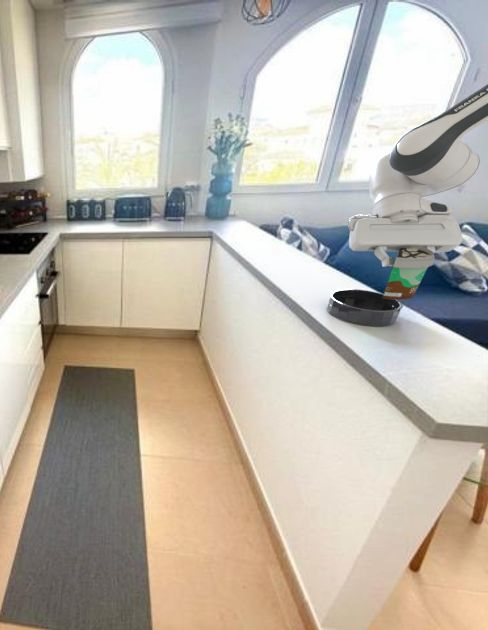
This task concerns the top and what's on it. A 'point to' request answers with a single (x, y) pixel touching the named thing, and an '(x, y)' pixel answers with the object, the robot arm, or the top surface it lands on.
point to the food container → (408, 272)
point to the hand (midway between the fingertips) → (406, 266)
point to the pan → (364, 307)
